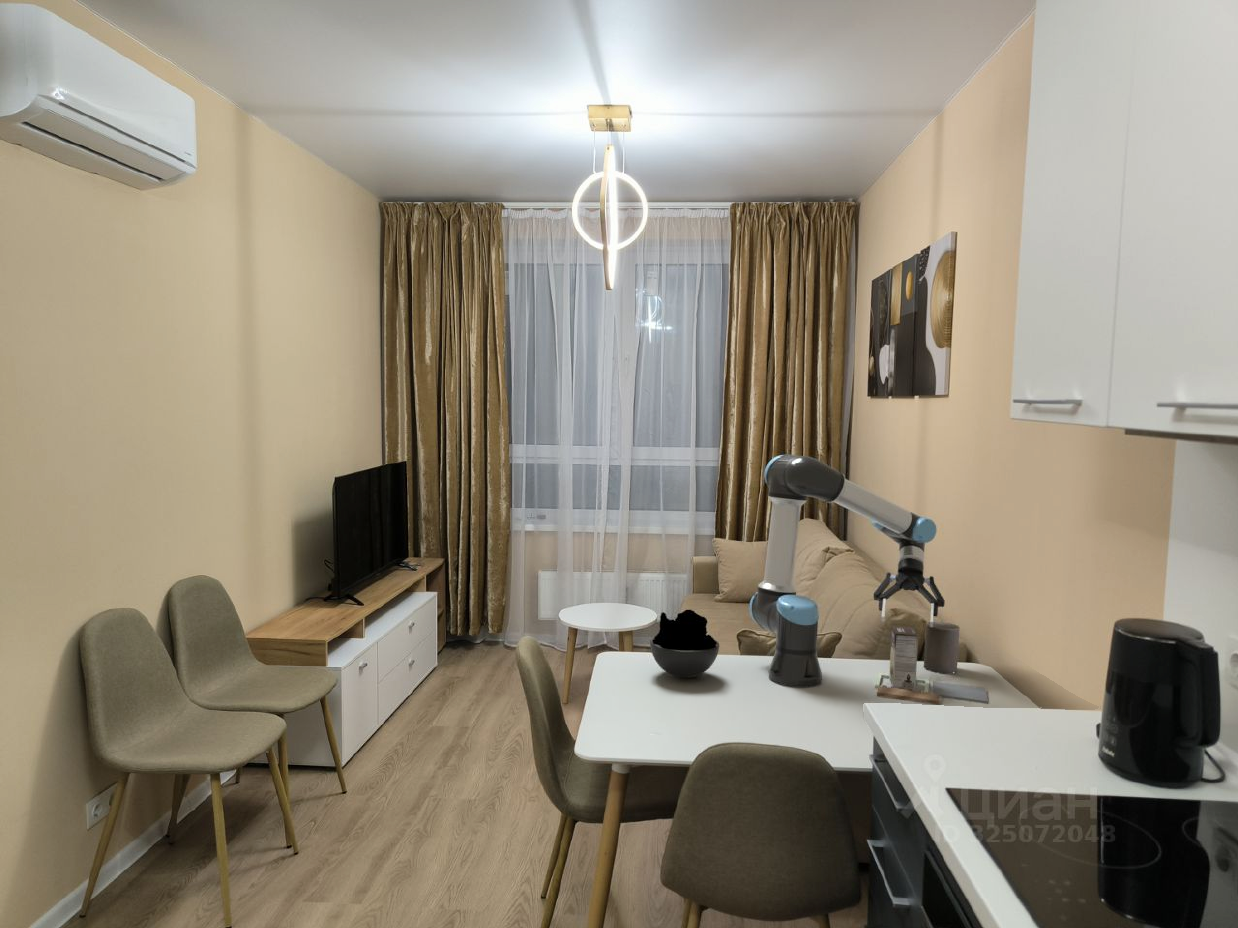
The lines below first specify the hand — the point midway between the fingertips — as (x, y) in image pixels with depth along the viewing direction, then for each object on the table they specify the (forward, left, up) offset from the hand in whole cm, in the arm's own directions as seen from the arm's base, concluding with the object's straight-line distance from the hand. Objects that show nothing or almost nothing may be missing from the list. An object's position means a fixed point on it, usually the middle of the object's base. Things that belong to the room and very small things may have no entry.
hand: (907, 621), depth 238 cm
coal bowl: (-59, -31, -16) cm, 69 cm away
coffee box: (0, -10, -16) cm, 19 cm away
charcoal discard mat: (+15, -10, -16) cm, 24 cm away
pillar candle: (+10, +12, -16) cm, 23 cm away
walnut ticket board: (+2, -20, -16) cm, 26 cm away
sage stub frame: (0, -10, -16) cm, 19 cm away
